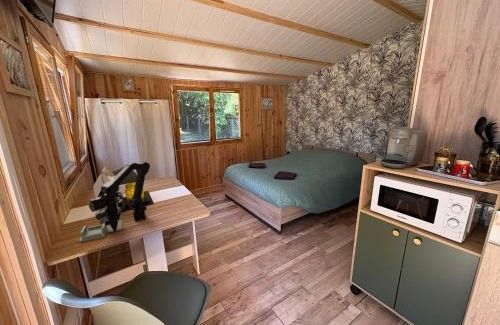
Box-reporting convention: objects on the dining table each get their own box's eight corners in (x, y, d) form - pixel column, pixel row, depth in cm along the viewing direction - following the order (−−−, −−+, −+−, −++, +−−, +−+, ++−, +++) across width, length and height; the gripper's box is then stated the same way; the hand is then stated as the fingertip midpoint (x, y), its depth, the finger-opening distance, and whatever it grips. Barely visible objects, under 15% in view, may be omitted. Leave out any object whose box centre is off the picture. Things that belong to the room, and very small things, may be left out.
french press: (125, 205, 165) (121, 177, 159) (125, 210, 156) (120, 180, 151) (108, 208, 160) (102, 179, 154) (106, 213, 151) (100, 183, 146)
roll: (123, 226, 134) (122, 217, 132) (122, 231, 128) (120, 222, 127) (110, 229, 131) (108, 220, 130) (108, 234, 126) (106, 224, 124)
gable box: (117, 204, 168) (111, 170, 161) (97, 207, 162) (90, 172, 156) (119, 194, 187) (114, 164, 181) (102, 197, 181) (95, 166, 175)
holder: (108, 226, 134) (107, 219, 133) (104, 236, 123) (103, 229, 122) (85, 230, 130) (84, 224, 129) (79, 242, 118) (77, 235, 117)
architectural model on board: (101, 216, 148) (99, 203, 146) (107, 215, 150) (104, 202, 148) (99, 223, 139) (96, 210, 136) (104, 222, 140) (102, 209, 138)
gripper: (98, 201, 131) (103, 224, 134) (91, 214, 114) (96, 239, 118) (119, 198, 135) (123, 220, 139) (115, 210, 119) (119, 234, 122)
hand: (115, 228), depth 129 cm, fingers closed on roll, 6 cm apart
